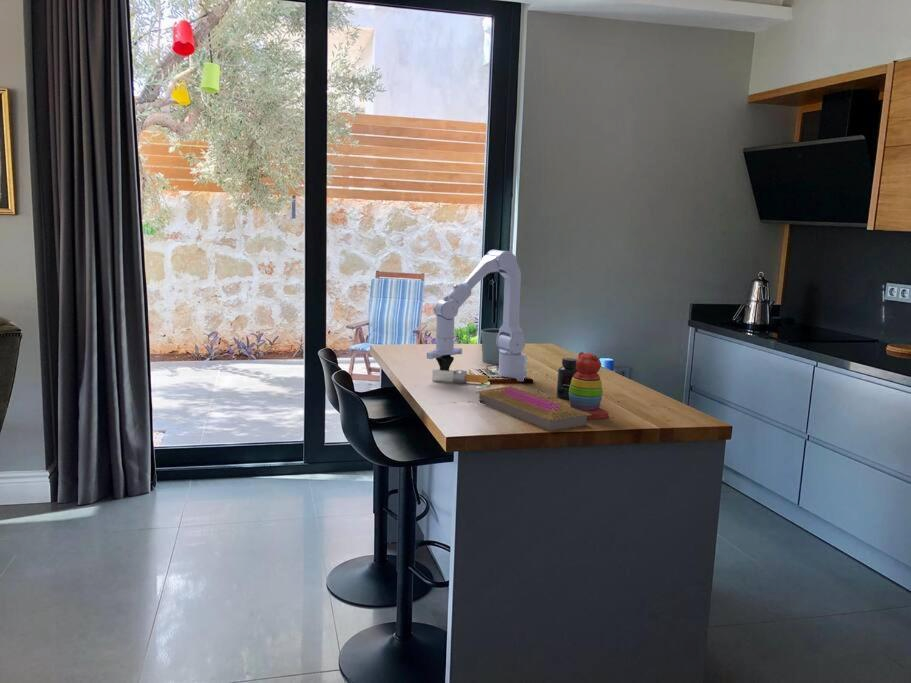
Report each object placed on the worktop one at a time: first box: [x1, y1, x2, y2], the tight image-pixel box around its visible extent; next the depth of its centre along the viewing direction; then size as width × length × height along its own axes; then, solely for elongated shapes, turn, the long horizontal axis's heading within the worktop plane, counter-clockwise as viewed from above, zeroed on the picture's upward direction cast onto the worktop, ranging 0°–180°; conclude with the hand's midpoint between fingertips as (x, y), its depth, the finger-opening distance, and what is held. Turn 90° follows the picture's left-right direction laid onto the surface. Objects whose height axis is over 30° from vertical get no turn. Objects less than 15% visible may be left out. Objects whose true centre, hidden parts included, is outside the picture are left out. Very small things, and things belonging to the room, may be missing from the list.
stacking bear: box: [568, 351, 609, 420], centre depth 216 cm, size 11×10×18 cm
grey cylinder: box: [480, 328, 500, 365], centre depth 291 cm, size 10×10×12 cm
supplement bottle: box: [556, 357, 578, 400], centre depth 237 cm, size 7×7×12 cm
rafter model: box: [475, 385, 592, 431], centre depth 217 cm, size 35×14×6 cm, turn 32°
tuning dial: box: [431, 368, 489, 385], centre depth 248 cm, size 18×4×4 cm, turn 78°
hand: (444, 378), depth 251 cm, fingers closed, pressing on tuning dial
